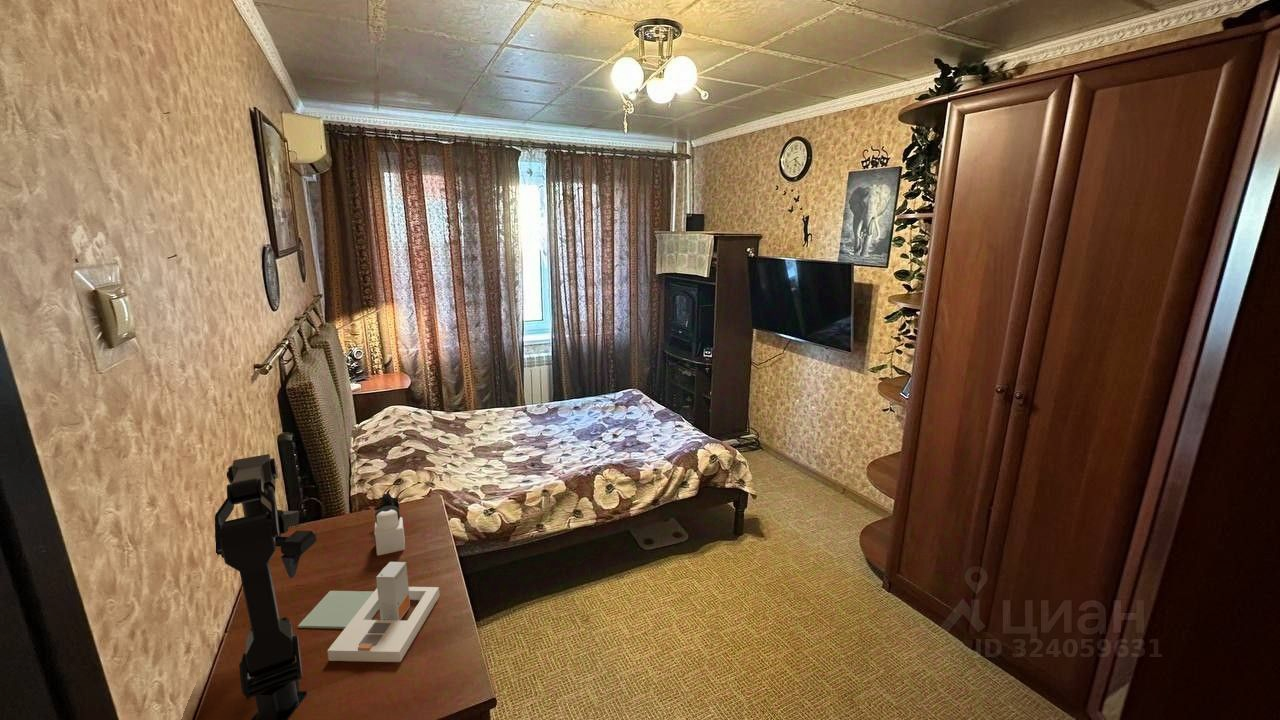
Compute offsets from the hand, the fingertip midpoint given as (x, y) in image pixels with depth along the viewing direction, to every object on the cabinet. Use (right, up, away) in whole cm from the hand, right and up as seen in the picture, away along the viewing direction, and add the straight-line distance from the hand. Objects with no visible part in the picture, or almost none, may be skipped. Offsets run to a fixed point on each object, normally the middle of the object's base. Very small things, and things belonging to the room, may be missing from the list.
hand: (272, 576), depth 114 cm
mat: (+10, -11, +9) cm, 17 cm away
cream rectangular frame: (+24, -13, +4) cm, 27 cm away
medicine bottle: (+10, -6, +34) cm, 36 cm away
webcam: (+4, -3, +46) cm, 46 cm away
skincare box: (+24, -12, +7) cm, 28 cm away
